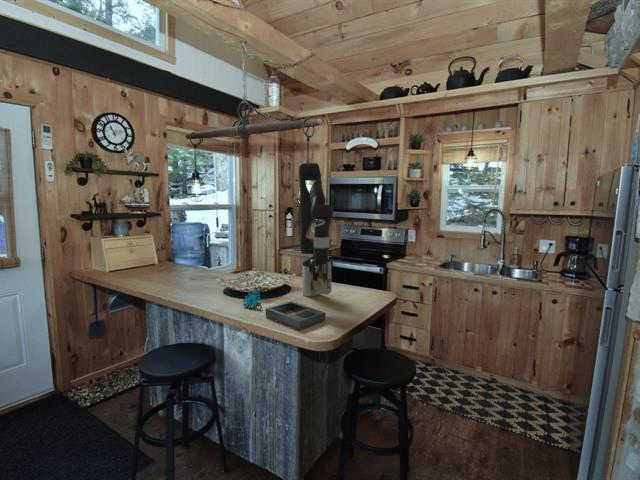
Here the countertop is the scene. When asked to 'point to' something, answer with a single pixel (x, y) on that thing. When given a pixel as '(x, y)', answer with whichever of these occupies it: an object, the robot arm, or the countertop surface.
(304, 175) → the robot arm
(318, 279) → the coffee box
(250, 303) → the gear
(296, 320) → the gray rectangular frame
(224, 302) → the countertop surface
